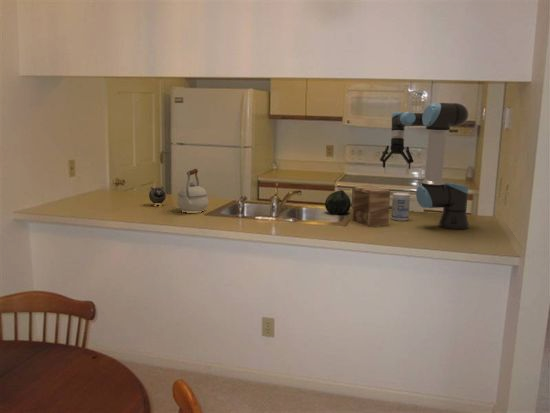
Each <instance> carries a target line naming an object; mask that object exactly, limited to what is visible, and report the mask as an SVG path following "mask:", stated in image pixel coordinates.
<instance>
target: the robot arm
mask: <svg viewBox="0 0 550 413" xmlns="http://www.w3.org/2000/svg"><path fill="white" fill-rule="evenodd" d="M468 118H469V110H468V109H467V107H466V106H464V105H463V104H461V103H456V102H454V103H452V102H449V103H448V102H432V103H428V104H427V105H426V107H425V108H424V110H423V112H412V111H406V112H403V111H395V112H392V114H391V135H390V138H391V139H390V146H389V145H386V146H385V148H384V149H385V150H384V151H383V153H382V154H381V157H380V159H379V161H380V162H382V168H383V174H387V173H388V172H387V171H388V162H387V160H389V159H390V157H392V155H400V156H402V158H403V160H405V162H406V163H405V175H409V171H410V170H411V164H412V163H414V162H415V161H414V159H413V156H412V153H411V152H410V147H409V146H404V145H405V127H425V130H426V131H427V132H428V137H427V138H428V139H427V149H426V160H425V161H426V163H425V175H424V179H423V180H422V181H421V185H419V186H417V188H416V191H415V195H416V196H415V197H416V201H417V203H418V205H419V206H420V207H421V208H424V209H436V208H437V209H440V208H443V209H442V210H443V211H442V214H441V216H440V218H439V221H438V226H439V227H441V228H443V229H449V230H466V229H469V224H470V223H469V220H468V215H467V208H468V207H467V205H468V195H469V187H468V186H467V185H465V184H462V183H461V184H460V183H456V182H450V181H449V182H446V181H445V182H444V181H443V171H444V161H445V150H446V139H447V133H448V132H450V130H451V127H458V126H461V125H463V124H465V123H466V122H467V120H468ZM389 150H391V151H390V152H389ZM404 151H405V152H404ZM388 152H389V153H388ZM387 153H388V154H387Z"/></svg>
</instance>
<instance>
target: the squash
mask: <svg viewBox="0 0 550 413" xmlns="http://www.w3.org/2000/svg"><path fill="white" fill-rule="evenodd" d="M324 205H325V206H324V207H325V210H326V211H327V212H328V213H330V214H333V213H334V214H339V215H345V214H348V212H349V211H350V209H351V206H352V200H351V198H350V196H348V194H347V193H346V192H345V190H343V189H339V190H337V191H335V192H331V193H330V194H329V195H328V196H327V197H326V199H325V203H324Z"/></svg>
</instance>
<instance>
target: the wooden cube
mask: <svg viewBox="0 0 550 413" xmlns="http://www.w3.org/2000/svg"><path fill="white" fill-rule="evenodd" d="M351 191H352V192H351V208H350V209H351V213H350V215H351V216H350V220H351V221H354V222H357V223H360V224H364V225H367V227H370V228H371V227H379V226H388V225H389V220H390V219H389V218H390V217H389V216H390V202H391V200H390V198H391V189H387V188H383V187H378V186H374V185H355V186H352V187H351Z"/></svg>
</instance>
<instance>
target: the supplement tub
mask: <svg viewBox="0 0 550 413" xmlns="http://www.w3.org/2000/svg"><path fill="white" fill-rule="evenodd" d="M391 199H392V201H391V202H392V204H391V216H390V217H391V218H390V219H392V220H394V221H398V222H401V221H402V222H406V221H408V220H409V216H410V204H411V203H410V202H411V200H410V199H411V194H410V193H406V192H393V193H392V198H391Z"/></svg>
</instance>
